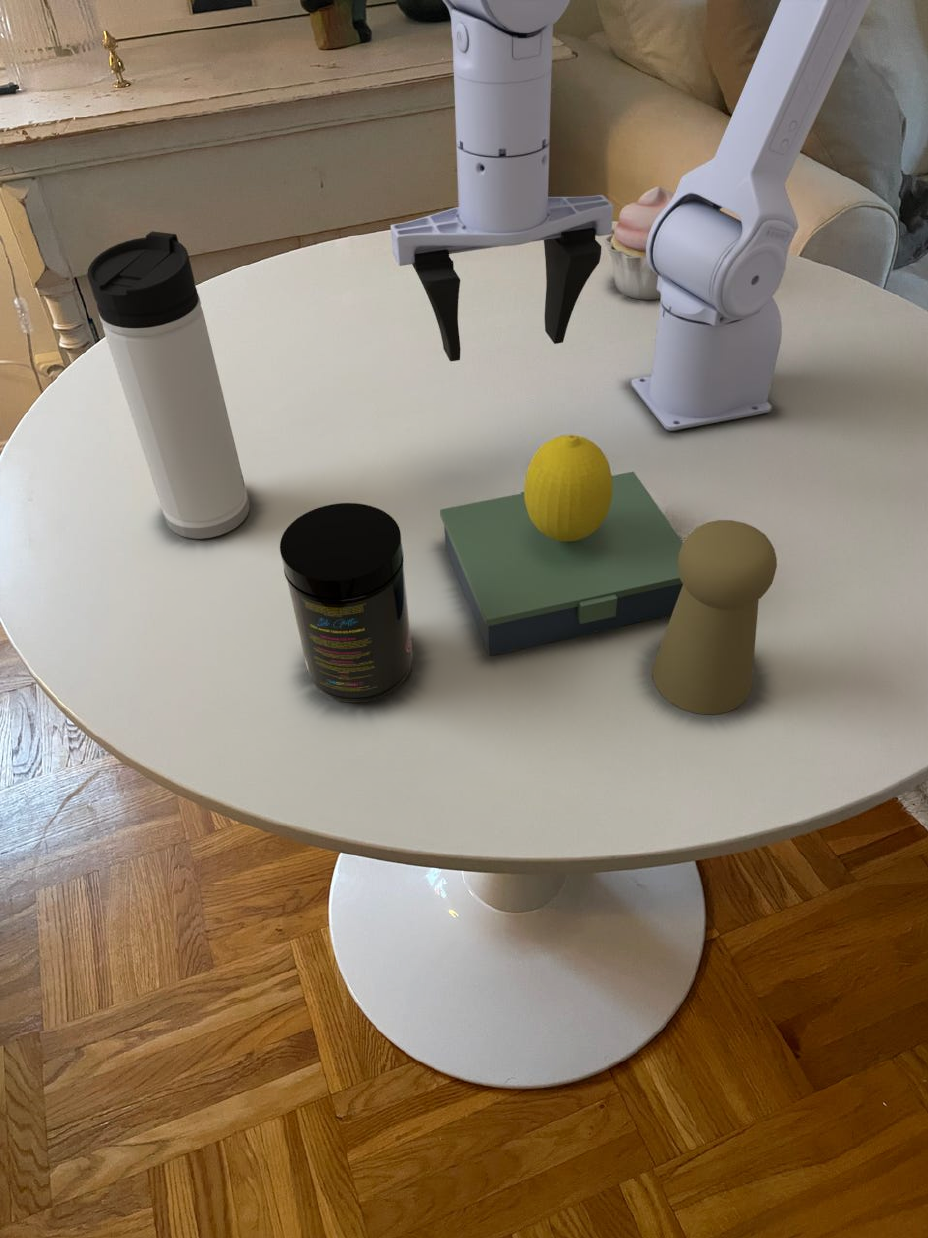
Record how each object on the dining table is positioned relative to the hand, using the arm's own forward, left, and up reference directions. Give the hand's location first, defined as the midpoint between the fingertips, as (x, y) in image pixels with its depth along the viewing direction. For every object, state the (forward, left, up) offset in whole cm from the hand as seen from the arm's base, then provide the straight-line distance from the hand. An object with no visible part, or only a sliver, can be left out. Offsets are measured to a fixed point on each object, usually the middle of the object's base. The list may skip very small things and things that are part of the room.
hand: (503, 345), depth 66 cm
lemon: (0, +14, -7) cm, 16 cm away
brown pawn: (-5, +25, -10) cm, 28 cm away
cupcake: (-23, -25, -10) cm, 36 cm away
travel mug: (+23, -1, -10) cm, 25 cm away
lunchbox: (0, +14, -10) cm, 17 cm away
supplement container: (+15, +18, -10) cm, 26 cm away
